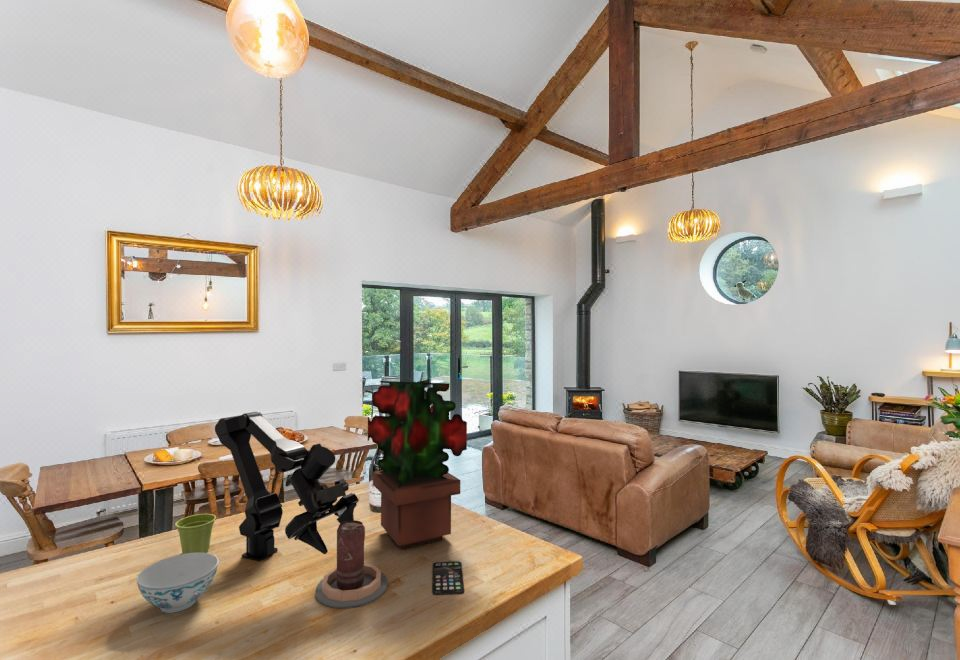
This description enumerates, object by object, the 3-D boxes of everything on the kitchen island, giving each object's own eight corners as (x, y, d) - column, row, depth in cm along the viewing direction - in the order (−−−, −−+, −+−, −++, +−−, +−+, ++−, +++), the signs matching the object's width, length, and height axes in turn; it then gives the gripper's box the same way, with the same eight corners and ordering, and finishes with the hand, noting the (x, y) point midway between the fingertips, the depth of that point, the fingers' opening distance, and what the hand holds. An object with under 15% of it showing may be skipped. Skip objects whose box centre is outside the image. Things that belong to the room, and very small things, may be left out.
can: (364, 590, 107) (364, 528, 107) (335, 593, 106) (335, 530, 106) (365, 576, 113) (366, 518, 113) (338, 579, 112) (338, 520, 112)
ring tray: (300, 600, 104) (300, 588, 104) (343, 566, 119) (343, 556, 119) (362, 614, 99) (362, 602, 99) (399, 577, 114) (399, 566, 114)
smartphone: (461, 561, 122) (464, 592, 107) (461, 563, 122) (464, 595, 107) (432, 562, 121) (431, 593, 106) (432, 564, 121) (431, 596, 106)
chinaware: (157, 634, 92) (157, 595, 92) (123, 610, 100) (123, 573, 100) (231, 597, 105) (232, 563, 105) (196, 578, 113) (196, 546, 113)
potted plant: (390, 561, 122) (391, 388, 122) (367, 529, 141) (368, 380, 142) (466, 542, 133) (467, 384, 133) (434, 515, 152) (435, 377, 152)
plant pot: (166, 556, 124) (166, 523, 124) (199, 542, 133) (200, 511, 133) (191, 563, 120) (191, 529, 120) (223, 548, 129) (223, 516, 129)
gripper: (294, 481, 105) (328, 542, 100) (354, 461, 122) (386, 512, 116) (270, 509, 109) (302, 569, 104) (331, 486, 125) (362, 537, 120)
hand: (341, 545), depth 111 cm, fingers open, 9 cm apart
